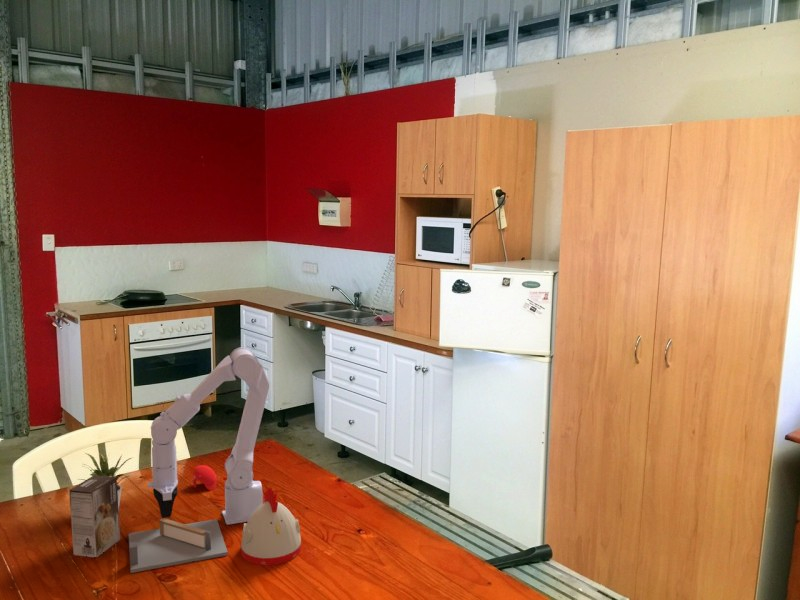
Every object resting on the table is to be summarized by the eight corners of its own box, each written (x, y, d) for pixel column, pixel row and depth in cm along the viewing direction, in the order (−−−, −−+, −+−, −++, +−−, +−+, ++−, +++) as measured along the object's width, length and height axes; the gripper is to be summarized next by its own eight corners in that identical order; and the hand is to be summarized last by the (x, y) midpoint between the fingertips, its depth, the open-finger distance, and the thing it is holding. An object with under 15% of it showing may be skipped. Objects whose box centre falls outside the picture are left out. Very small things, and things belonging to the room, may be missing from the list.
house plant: (60, 517, 176) (57, 457, 174) (102, 497, 189) (99, 440, 186) (103, 528, 171) (99, 465, 168) (143, 505, 183) (140, 447, 181)
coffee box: (97, 536, 166) (94, 474, 164) (121, 539, 165) (118, 476, 163) (72, 555, 157) (68, 489, 155) (97, 558, 156) (93, 492, 154)
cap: (184, 476, 196) (192, 470, 192) (200, 463, 200) (208, 458, 196) (201, 498, 196) (209, 493, 192) (216, 485, 200) (224, 480, 196)
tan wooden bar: (207, 545, 160) (207, 531, 159) (203, 548, 159) (203, 533, 158) (164, 531, 166) (163, 518, 166) (159, 534, 165) (159, 520, 165)
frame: (216, 522, 174) (216, 503, 174) (227, 555, 158) (227, 534, 157) (128, 536, 166) (127, 517, 166) (130, 573, 150) (129, 551, 149)
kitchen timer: (250, 570, 152) (249, 506, 150) (234, 543, 164) (233, 483, 162) (309, 556, 158) (308, 495, 156) (290, 531, 170) (289, 474, 168)
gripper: (146, 456, 174) (147, 507, 176) (148, 477, 161) (150, 531, 163) (174, 453, 177) (176, 502, 179) (180, 473, 164) (181, 526, 166)
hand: (166, 516), depth 171 cm, fingers closed
